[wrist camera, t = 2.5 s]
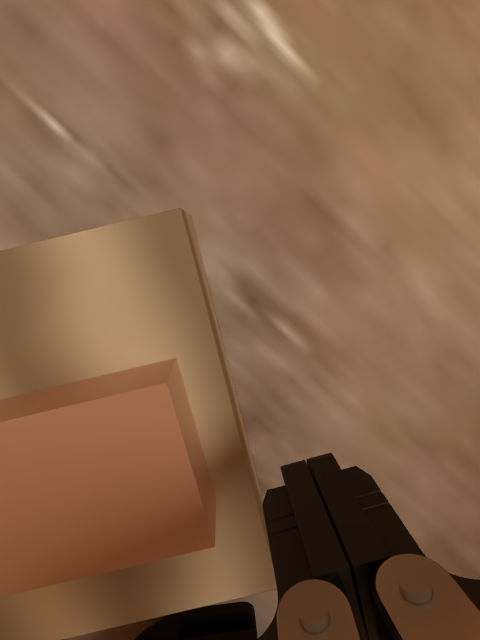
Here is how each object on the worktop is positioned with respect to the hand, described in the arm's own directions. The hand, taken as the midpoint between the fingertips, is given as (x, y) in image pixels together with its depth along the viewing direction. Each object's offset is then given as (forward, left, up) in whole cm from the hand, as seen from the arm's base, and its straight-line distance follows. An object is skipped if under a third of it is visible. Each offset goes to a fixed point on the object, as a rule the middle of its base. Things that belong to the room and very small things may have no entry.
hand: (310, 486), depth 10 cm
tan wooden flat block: (+8, -1, -8) cm, 11 cm away
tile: (+8, -1, -4) cm, 9 cm away
